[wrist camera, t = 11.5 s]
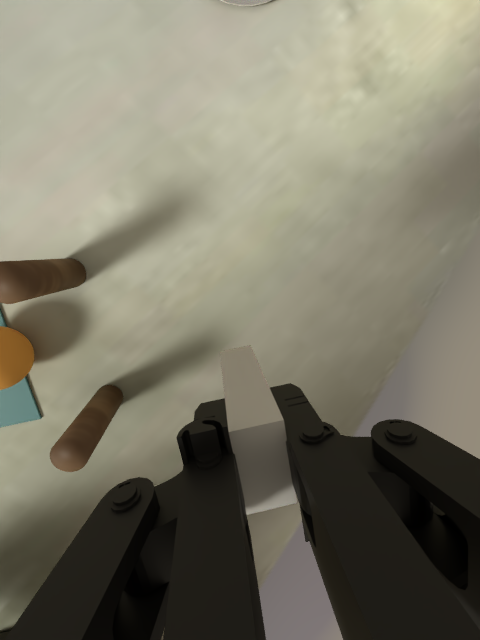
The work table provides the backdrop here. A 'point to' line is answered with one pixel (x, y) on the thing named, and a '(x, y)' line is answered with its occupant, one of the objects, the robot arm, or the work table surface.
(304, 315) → the work table surface
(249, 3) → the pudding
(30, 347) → the ball
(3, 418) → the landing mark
